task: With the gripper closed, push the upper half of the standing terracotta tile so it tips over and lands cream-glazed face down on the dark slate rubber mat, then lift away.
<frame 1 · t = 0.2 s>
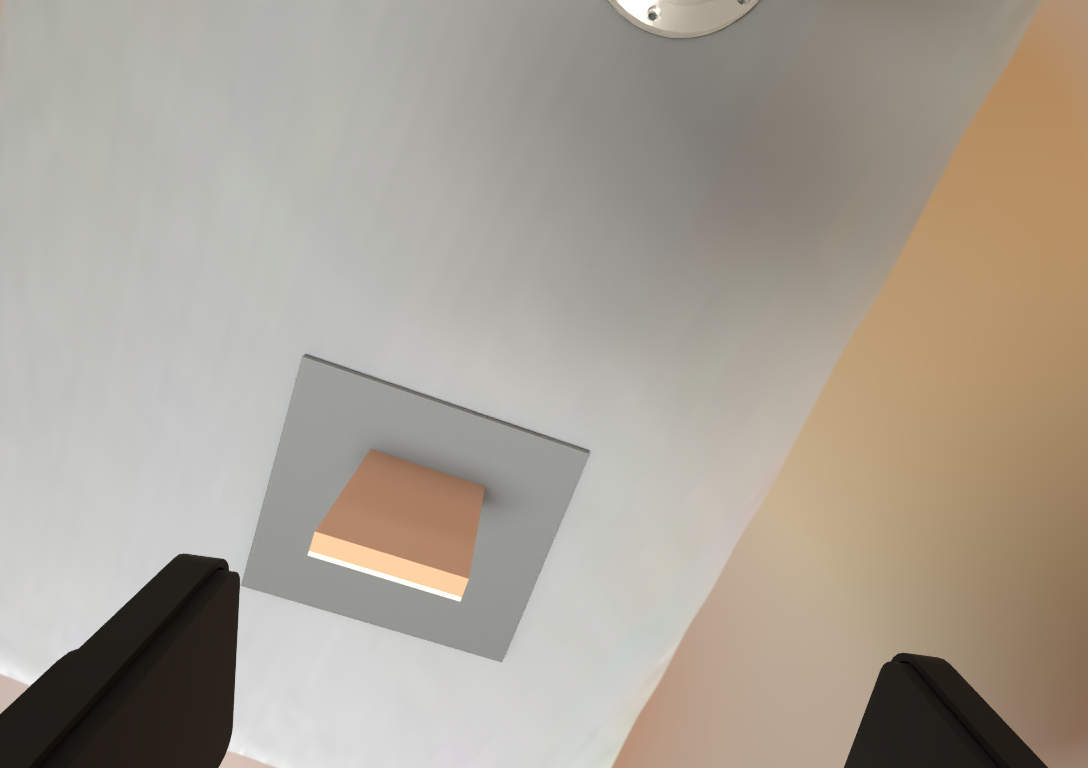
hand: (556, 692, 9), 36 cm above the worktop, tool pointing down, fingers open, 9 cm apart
slate mat: (411, 517, 47), on the worktop
tile: (425, 477, 46), point 1 cm above the worktop, touching slate mat
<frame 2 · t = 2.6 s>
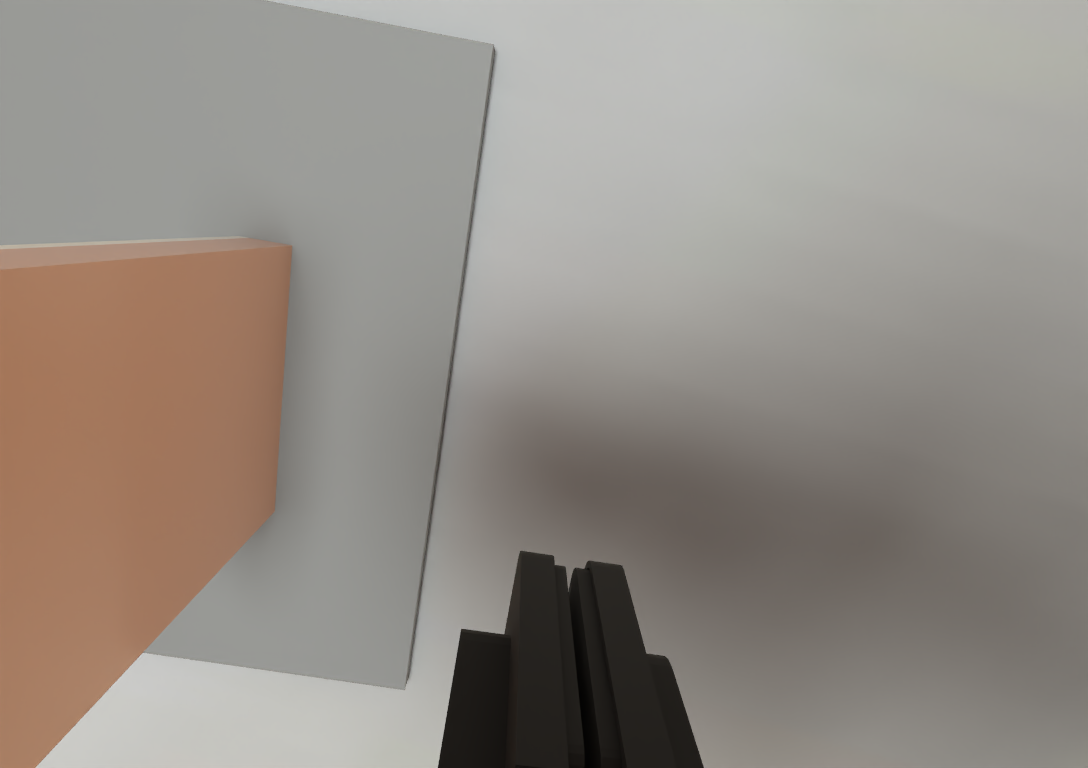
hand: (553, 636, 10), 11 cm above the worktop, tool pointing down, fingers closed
slate mat: (143, 357, 20), on the worktop
tile: (258, 381, 19), point 1 cm above the worktop, touching slate mat
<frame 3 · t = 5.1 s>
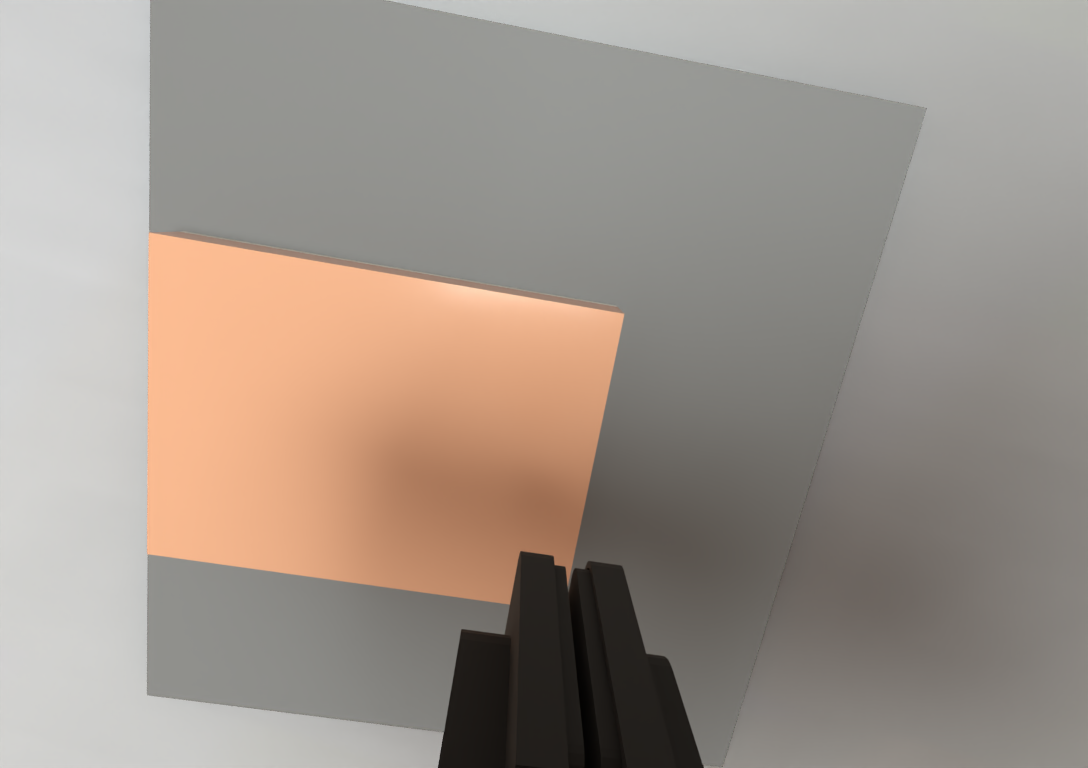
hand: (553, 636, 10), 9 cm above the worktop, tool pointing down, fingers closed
slate mat: (491, 430, 19), on the worktop
tile: (588, 461, 18), point 1 cm above the worktop, tilted 90°, touching slate mat
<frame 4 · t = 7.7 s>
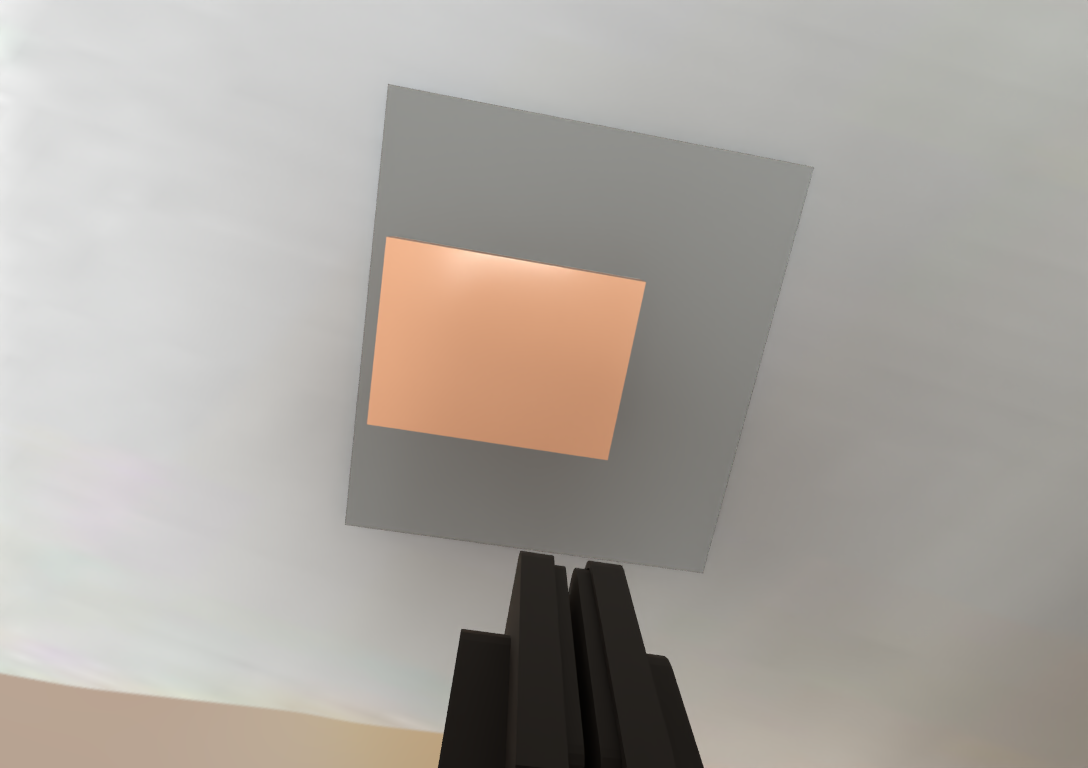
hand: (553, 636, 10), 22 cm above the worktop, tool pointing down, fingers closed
slate mat: (563, 355, 31), on the worktop
tile: (623, 370, 30), point 1 cm above the worktop, tilted 90°, touching slate mat
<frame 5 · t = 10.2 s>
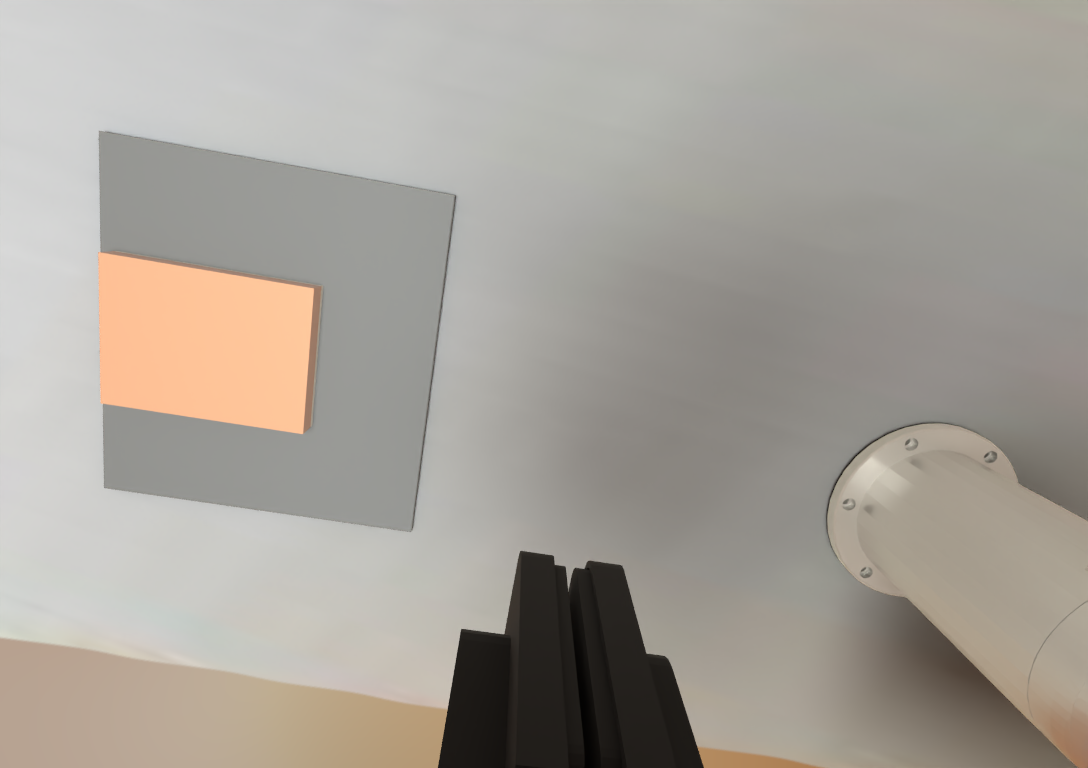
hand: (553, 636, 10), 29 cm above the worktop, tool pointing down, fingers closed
slate mat: (273, 348, 38), on the worktop
tile: (313, 360, 37), point 1 cm above the worktop, tilted 90°, touching slate mat
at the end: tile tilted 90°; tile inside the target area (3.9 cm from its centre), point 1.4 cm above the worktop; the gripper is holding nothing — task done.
